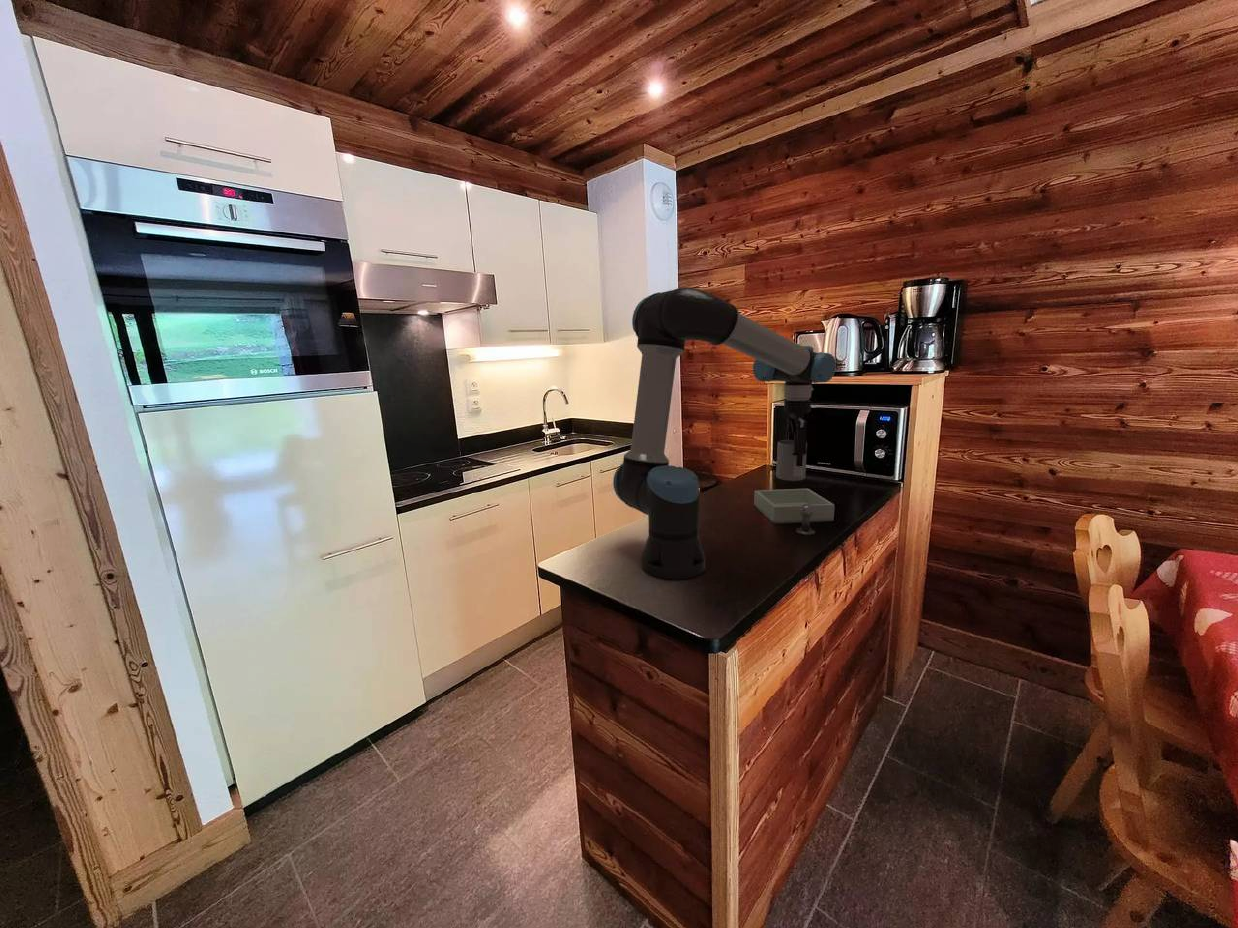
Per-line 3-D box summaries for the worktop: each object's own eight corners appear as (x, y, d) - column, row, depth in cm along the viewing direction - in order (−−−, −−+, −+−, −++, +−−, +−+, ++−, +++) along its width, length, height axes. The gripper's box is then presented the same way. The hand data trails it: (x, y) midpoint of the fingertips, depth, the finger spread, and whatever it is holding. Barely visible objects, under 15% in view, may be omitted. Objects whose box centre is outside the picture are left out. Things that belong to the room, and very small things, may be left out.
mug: (795, 482, 142) (797, 446, 139) (770, 477, 148) (771, 442, 146) (816, 475, 149) (818, 440, 147) (791, 470, 156) (792, 437, 153)
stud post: (800, 535, 131) (801, 507, 130) (792, 529, 136) (794, 502, 134) (818, 535, 131) (819, 506, 130) (810, 528, 136) (811, 501, 135)
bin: (773, 523, 141) (774, 507, 140) (754, 505, 159) (754, 490, 158) (833, 520, 142) (834, 504, 141) (807, 502, 160) (808, 488, 159)
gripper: (821, 402, 132) (816, 481, 137) (801, 395, 153) (798, 464, 158) (792, 403, 133) (789, 481, 137) (777, 396, 154) (774, 464, 159)
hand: (793, 472), depth 148 cm, fingers closed on mug, 9 cm apart
